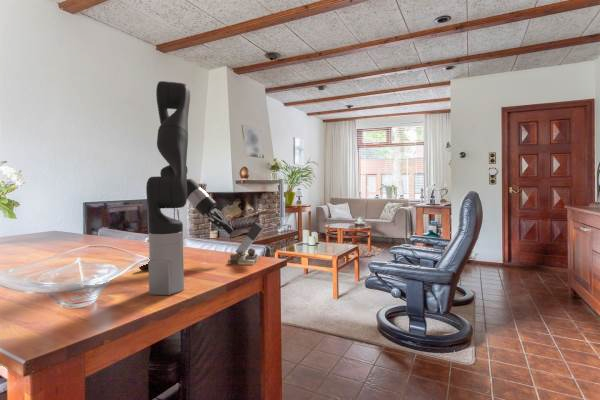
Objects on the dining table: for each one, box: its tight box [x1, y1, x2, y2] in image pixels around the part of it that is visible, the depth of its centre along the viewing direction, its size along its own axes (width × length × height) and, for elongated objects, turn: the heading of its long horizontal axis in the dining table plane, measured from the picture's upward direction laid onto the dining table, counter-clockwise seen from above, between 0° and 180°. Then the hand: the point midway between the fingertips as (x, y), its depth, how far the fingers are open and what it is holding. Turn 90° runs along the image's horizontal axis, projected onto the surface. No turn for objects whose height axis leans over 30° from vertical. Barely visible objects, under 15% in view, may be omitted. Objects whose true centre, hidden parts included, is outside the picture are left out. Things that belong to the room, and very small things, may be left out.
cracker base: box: [227, 247, 260, 266], centre depth 137 cm, size 10×10×5 cm
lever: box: [234, 221, 265, 256], centre depth 136 cm, size 6×4×16 cm
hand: (231, 232), depth 137 cm, fingers closed
